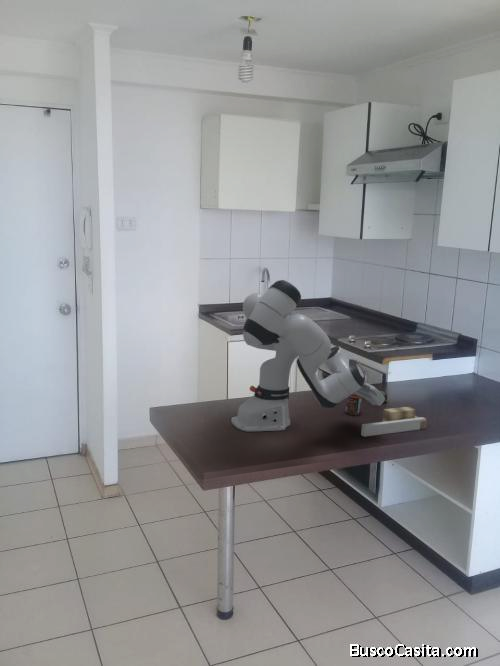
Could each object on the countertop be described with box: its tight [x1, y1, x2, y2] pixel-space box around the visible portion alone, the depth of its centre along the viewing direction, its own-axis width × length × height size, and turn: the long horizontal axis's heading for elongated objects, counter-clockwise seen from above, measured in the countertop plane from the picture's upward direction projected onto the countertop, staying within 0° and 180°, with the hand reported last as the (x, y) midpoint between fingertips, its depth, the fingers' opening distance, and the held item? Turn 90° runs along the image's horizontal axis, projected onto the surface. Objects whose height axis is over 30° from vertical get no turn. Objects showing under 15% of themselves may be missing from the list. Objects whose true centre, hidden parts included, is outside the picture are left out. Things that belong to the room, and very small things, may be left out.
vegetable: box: [377, 389, 388, 403], centre depth 266 cm, size 14×5×5 cm, turn 34°
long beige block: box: [381, 406, 416, 422], centre depth 232 cm, size 12×4×7 cm, turn 114°
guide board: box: [360, 415, 428, 438], centre depth 231 cm, size 28×12×4 cm, turn 115°
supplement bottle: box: [345, 393, 363, 416], centre depth 245 cm, size 6×6×11 cm
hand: (373, 402), depth 227 cm, fingers closed
